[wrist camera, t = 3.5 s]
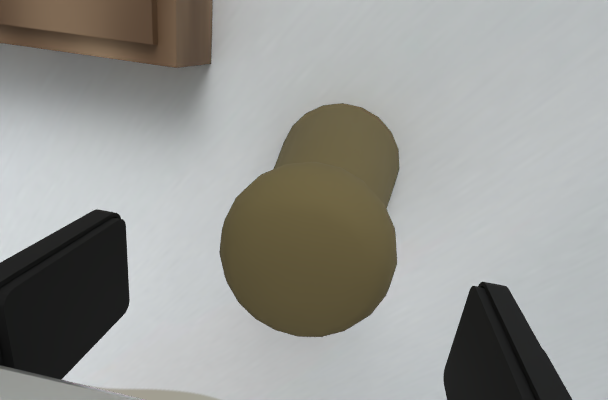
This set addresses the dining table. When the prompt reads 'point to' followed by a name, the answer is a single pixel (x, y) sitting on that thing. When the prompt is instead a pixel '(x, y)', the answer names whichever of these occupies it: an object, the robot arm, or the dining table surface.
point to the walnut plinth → (113, 28)
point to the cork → (317, 226)
